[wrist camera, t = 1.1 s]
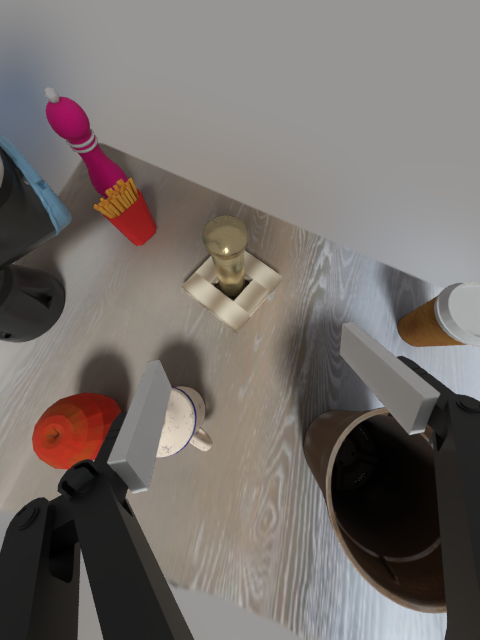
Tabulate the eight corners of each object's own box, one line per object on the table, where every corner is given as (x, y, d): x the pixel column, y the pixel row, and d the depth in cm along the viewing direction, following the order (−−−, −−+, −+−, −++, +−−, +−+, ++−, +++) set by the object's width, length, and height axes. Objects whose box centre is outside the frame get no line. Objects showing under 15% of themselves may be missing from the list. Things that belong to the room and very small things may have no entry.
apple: (65, 418, 38) (-9, 434, 27) (112, 378, 40) (61, 377, 29) (95, 466, 36) (28, 505, 25) (144, 422, 37) (101, 440, 26)
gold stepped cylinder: (212, 288, 44) (193, 237, 28) (230, 268, 45) (222, 208, 29) (234, 305, 43) (227, 262, 27) (252, 284, 44) (256, 231, 28)
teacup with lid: (145, 418, 38) (103, 435, 26) (177, 374, 40) (150, 372, 28) (199, 463, 36) (178, 501, 24) (230, 414, 37) (224, 428, 26)
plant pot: (337, 376, 39) (398, 374, 23) (411, 453, 35) (542, 511, 20) (271, 441, 36) (291, 487, 21) (344, 531, 32) (433, 669, 17)
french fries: (150, 218, 49) (121, 168, 38) (162, 227, 49) (136, 179, 37) (123, 243, 48) (84, 199, 36) (135, 252, 47) (99, 211, 35)
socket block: (185, 291, 44) (181, 286, 42) (228, 245, 47) (227, 238, 44) (236, 333, 41) (236, 330, 39) (279, 282, 44) (281, 276, 42)
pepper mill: (130, 181, 53) (63, 67, 33) (140, 202, 51) (76, 93, 32) (102, 193, 52) (18, 83, 33) (112, 214, 50) (28, 110, 31)
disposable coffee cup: (431, 365, 39) (510, 358, 27) (381, 338, 40) (435, 322, 29) (447, 322, 41) (526, 299, 29) (399, 298, 43) (456, 267, 31)
